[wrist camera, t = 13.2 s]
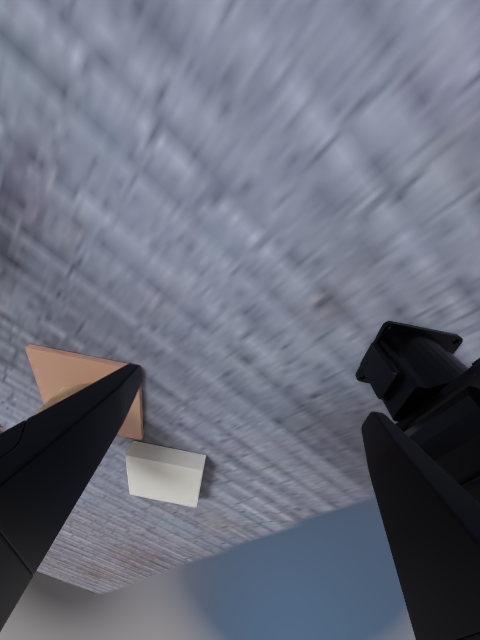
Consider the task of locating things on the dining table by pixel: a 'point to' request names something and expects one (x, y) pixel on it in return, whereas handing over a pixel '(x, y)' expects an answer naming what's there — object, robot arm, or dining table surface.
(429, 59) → the dining table surface
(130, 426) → the terracotta tile
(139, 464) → the white square tile
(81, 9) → the dining table surface
